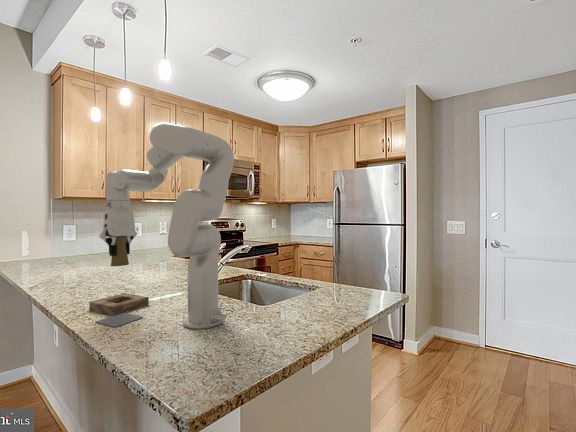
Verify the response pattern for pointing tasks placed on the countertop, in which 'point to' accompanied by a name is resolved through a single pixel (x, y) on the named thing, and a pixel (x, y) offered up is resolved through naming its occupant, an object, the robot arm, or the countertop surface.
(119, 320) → the rubber mat
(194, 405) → the countertop surface
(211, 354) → the countertop surface
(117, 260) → the cork
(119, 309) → the socket block
